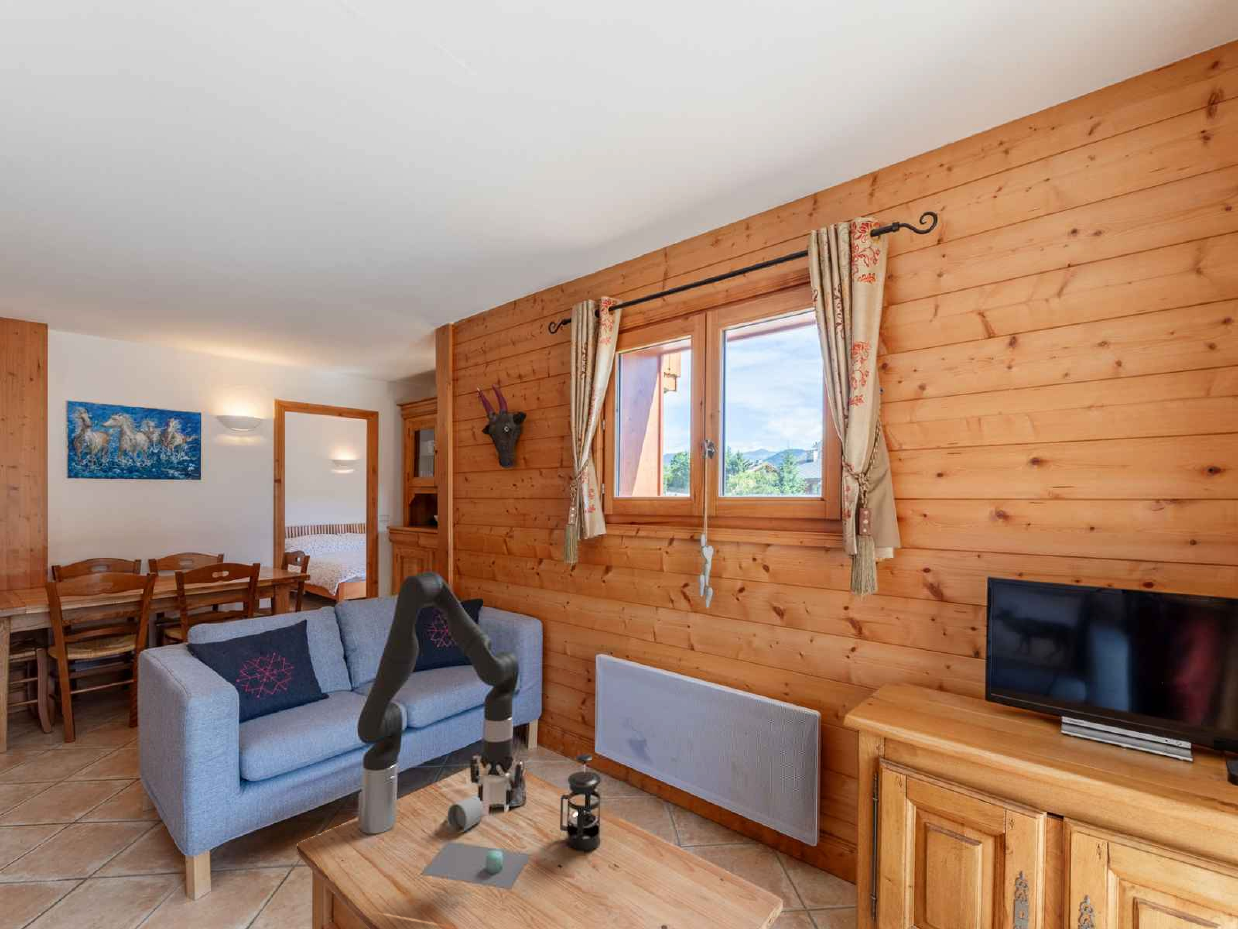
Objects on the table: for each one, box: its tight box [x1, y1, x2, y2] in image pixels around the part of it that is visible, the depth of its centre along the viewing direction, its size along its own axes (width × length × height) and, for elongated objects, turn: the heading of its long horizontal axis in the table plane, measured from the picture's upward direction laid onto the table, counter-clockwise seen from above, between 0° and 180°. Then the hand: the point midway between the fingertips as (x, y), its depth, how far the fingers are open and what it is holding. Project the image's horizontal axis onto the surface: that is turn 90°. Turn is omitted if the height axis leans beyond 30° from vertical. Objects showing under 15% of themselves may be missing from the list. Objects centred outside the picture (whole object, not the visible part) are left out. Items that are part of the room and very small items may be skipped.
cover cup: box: [482, 772, 510, 816], centre depth 150 cm, size 6×6×9 cm
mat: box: [419, 840, 532, 890], centre depth 152 cm, size 24×14×1 cm, turn 78°
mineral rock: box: [489, 769, 527, 809], centre depth 182 cm, size 13×11×10 cm
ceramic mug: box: [446, 795, 485, 834], centre depth 170 cm, size 11×8×8 cm
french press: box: [559, 753, 602, 853], centre depth 163 cm, size 12×9×23 cm
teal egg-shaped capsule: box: [486, 850, 503, 874], centre depth 150 cm, size 4×4×4 cm
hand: (495, 801), depth 150 cm, fingers closed on cover cup, 6 cm apart
